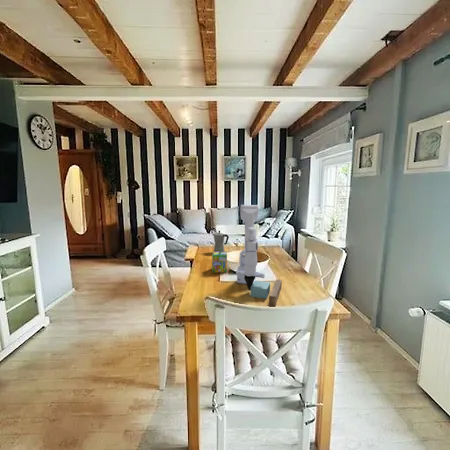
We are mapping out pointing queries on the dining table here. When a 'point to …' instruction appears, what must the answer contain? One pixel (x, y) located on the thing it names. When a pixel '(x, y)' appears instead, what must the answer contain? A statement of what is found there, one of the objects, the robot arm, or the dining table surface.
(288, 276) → the dining table surface
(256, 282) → the block
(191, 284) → the dining table surface
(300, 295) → the dining table surface
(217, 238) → the coffeepot
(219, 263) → the chalk box
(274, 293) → the board
